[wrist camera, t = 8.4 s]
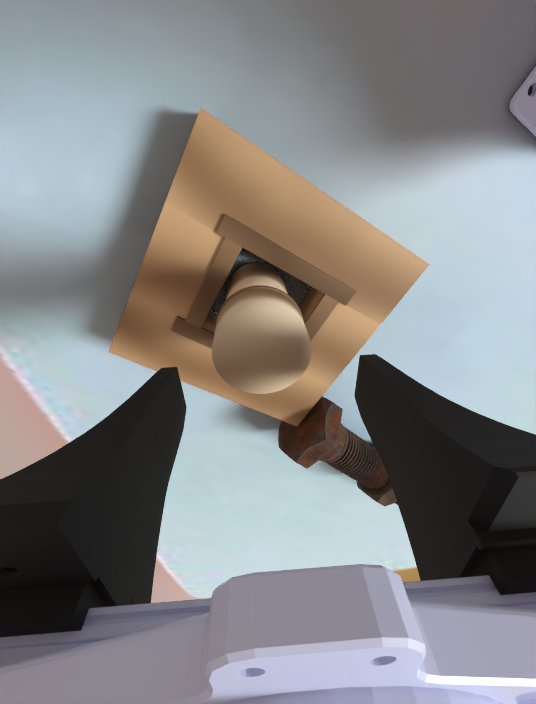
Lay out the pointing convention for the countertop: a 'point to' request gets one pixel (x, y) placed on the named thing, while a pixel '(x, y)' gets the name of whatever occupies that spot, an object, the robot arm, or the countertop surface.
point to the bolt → (336, 450)
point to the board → (269, 244)
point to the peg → (260, 333)
